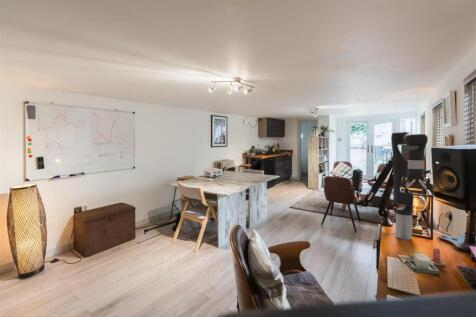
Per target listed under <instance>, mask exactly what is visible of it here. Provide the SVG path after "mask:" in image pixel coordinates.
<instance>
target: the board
mask: <svg viewBox="0 0 476 317" xmlns="http://www.w3.org/2000/svg"><path fill="white" fill-rule="evenodd" d="M427 257H428V259H429V260H430V263H431V264H432V265H434V266H439V267H446V264H445V262H443V261H442V260H441V262H440V263H439V262H434V261H432V258H433V257H429V256H427ZM397 258H398V259H400V261H401V260H402V261H405V262H406V260H413V261H414V255H406V254H404V255H403V254H397ZM402 261H401V262H402ZM405 262H404V263H405Z"/></svg>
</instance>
